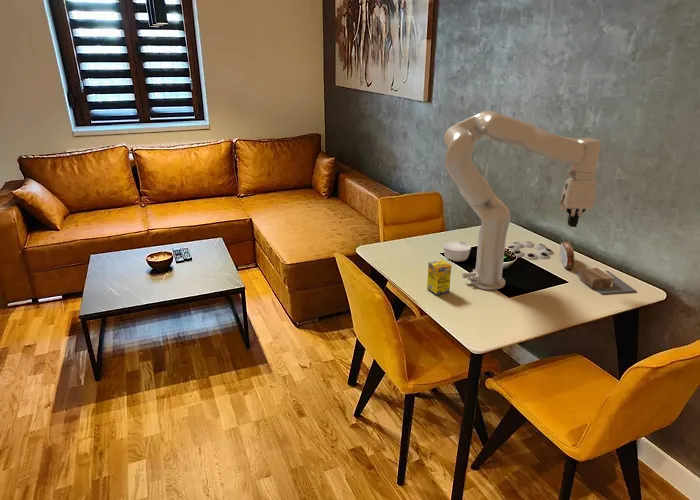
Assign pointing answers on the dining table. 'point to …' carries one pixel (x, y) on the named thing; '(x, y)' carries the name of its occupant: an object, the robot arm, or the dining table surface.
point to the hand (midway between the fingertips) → (571, 225)
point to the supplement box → (439, 277)
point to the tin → (567, 255)
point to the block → (596, 278)
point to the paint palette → (540, 247)
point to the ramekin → (456, 250)
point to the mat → (615, 287)
